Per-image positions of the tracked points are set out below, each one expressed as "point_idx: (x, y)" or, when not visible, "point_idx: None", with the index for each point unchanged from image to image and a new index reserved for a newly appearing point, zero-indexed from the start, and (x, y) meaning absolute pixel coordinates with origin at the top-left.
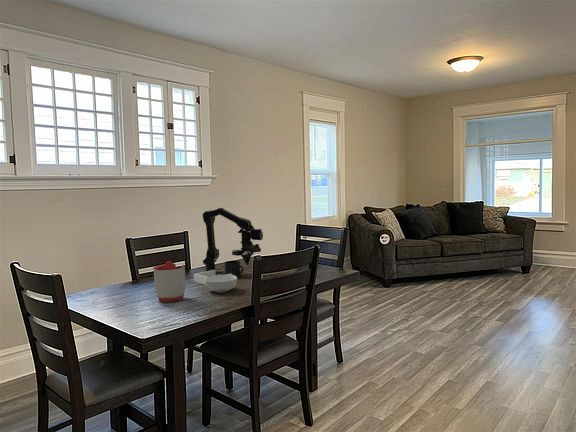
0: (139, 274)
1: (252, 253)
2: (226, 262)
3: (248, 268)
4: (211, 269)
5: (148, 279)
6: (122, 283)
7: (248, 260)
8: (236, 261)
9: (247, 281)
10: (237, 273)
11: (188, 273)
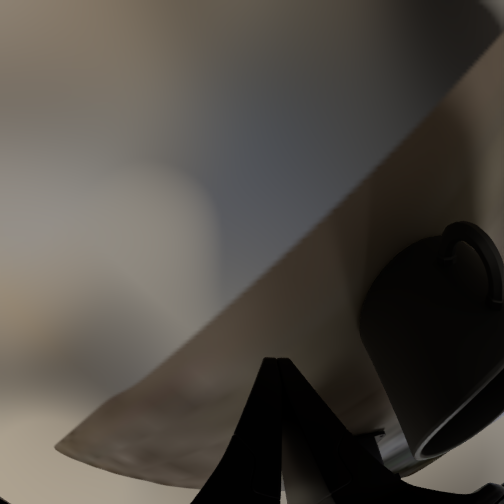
0: (412, 474)
1: None
2: (464, 433)
3: (116, 397)
4: (379, 451)
5: None
6: (492, 422)
7: (277, 419)
8: (422, 437)
9: (486, 58)
10: (471, 251)
11: (384, 460)
